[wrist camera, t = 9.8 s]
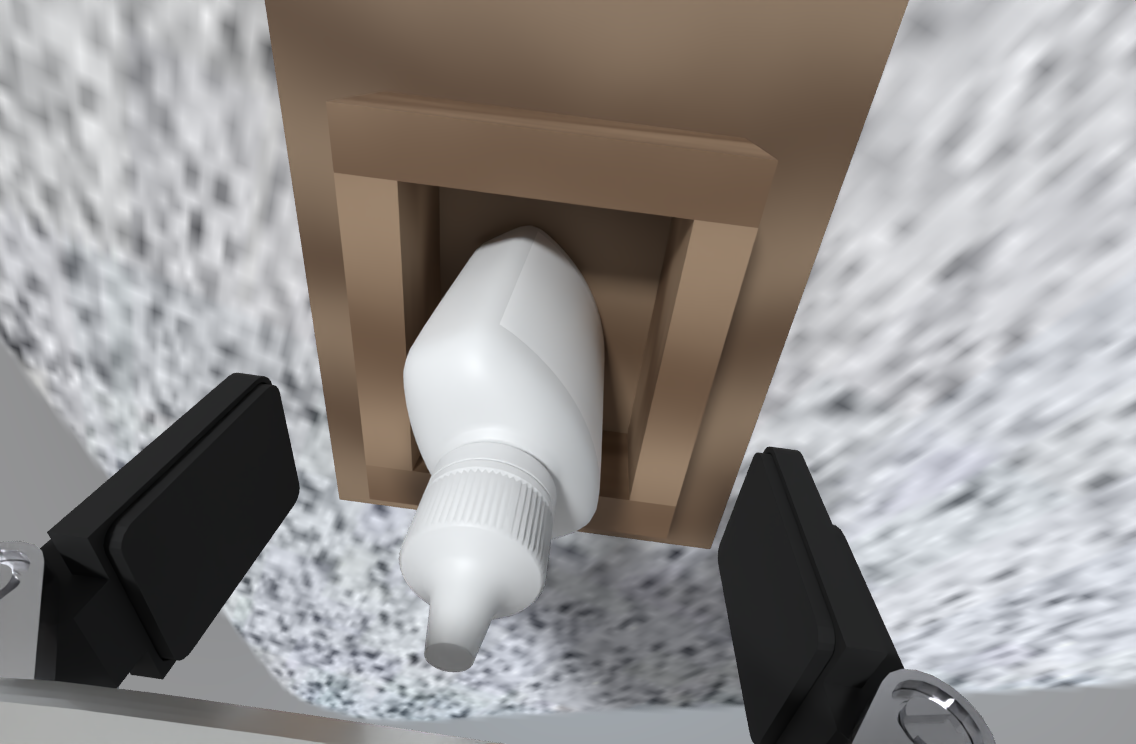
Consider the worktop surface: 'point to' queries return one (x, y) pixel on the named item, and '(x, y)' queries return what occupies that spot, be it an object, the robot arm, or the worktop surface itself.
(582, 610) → the worktop surface
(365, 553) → the worktop surface
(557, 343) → the eye dropper bottle
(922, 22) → the worktop surface
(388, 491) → the bottle stand
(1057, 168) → the worktop surface
